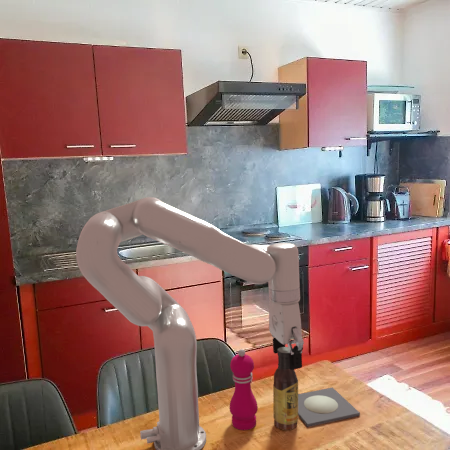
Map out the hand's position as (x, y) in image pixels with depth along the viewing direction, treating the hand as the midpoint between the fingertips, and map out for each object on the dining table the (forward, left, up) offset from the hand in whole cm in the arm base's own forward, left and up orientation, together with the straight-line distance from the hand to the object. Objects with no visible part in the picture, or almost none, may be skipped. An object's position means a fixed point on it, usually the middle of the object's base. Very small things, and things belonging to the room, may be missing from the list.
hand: (287, 360), depth 112 cm
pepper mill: (-11, +4, -17) cm, 21 cm away
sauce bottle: (-1, 0, -17) cm, 17 cm away
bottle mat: (+11, +4, -17) cm, 21 cm away
